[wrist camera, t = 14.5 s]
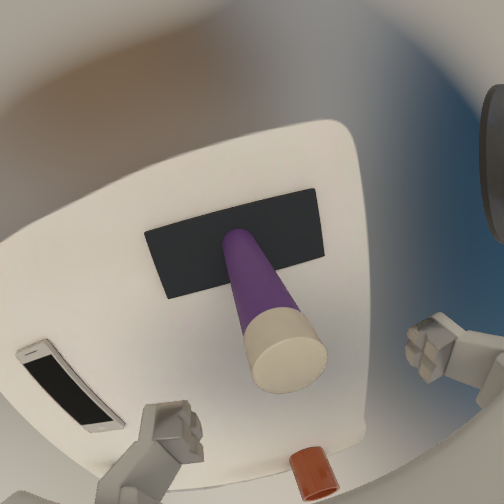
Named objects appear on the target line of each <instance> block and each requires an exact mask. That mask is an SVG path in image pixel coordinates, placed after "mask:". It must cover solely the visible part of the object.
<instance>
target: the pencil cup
mask: <svg viewBox="0 0 504 504" xmlns="http://www.w3.org/2000/svg"><path fill="white" fill-rule="evenodd" d="M289 461H290V464H291V467H292V470H293V473H294V476H295V479H296V482H297V485H298V488H299V491H300V494H301V497H302V499H303V501H314V500H318V499H321V498H324V497H326V496H329V495H331V494H333V493H335V492H336V491H338V489H339V488H340V486H339V484H338V482H337V480H336V477H335V475H334V473H333V471H332V468H331V466H330V464H329V462H328V459H327V457H326V455H325V452H324V451H323V449H322V448H321V447H311V448H307V449H304V450H301V451H299V452H297V453H295V454H294V455H292V456H291V457H290V459H289Z"/></svg>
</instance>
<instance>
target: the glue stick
mask: <svg viewBox="0 0 504 504" xmlns="http://www.w3.org/2000/svg"><path fill="white" fill-rule="evenodd" d="M222 248H223V253H224V257H225V261H226V266H227V270H228V275H229V279H230V283H231V287H232V292H233V296H234V300H235V304H236V308H237V312H238V316H239V321H240V325H241V329H242V333H243V337H244V346H245V350H246V354H247V358H248V362H249V366H250V370H251V373H252V377H253V380H254V382H255V383H256V385H257V386H258V387H259V388H261V389H262V390H264V391H267V392H270V393H277V394H282V393H290V392H294V391H297V390H299V389H302V388H304V387H306V386H307V385H309V384H311V383H312V382H313V381H314V380H316V379H317V378H318V377H319V375H320V374H321V373H322V371H323V370H324V368H325V366H326V363H327V351H326V348H325V347H324V345H323V343H322V342H321V340H320V339H319V337H318V336H317V334H316V332H315V331H314V329H313V328H312V326H311V325H310V323H309V321H308V320H307V318H306V317H305V316H304V315H303V314H302V313H301V311H300V310H299V308H298V306H297V305H296V303H295V302H294V300H293V298H292V297H291V295H290V294H289V292H288V291H287V289H286V287H285V286H284V284H283V283H282V281H281V280H280V278H279V276H278V275H277V273H276V272H275V270H274V269H273V267H272V265H271V264H270V262H269V261H268V259H267V258H266V256H265V254H264V253H263V251H262V250H261V248H260V247H259V245H258V243H257V242H256V240H255V239H254V237H253V236H252V234H251V233H250V232H249V231H247V230H245V229H234V230H231V231H230V232H228V233H227V234H226V235H225V237H224V239H223V242H222Z"/></svg>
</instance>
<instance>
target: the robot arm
mask: <svg viewBox="0 0 504 504" xmlns="http://www.w3.org/2000/svg"><path fill="white" fill-rule="evenodd" d="M407 337H408V338H409V341H408V342H407V344H406V347H405V353H406V357H407V360H408V361H409V363H410V364H411V365H412V366H413V367H416V368H419V375H420V376H421V377H422V378H423V379H424V380H425V381H426V382H427V384H429V383H430V382H432V381H434V380H435V379H437V378H438V377H440V376H442V375H443V374H444V375H445V376H447V377H450V378H452V379H455V380H457V381H460V382H463V383H465V384H468V385H470V386H473V387H476V388H479V389H481V390H480V392H479V394H478V396H477V398H476V402H477V403H478V404H479V406H480V407H481V408H482V410H481V411H480V412H479V413H478V414H477V415H475V416H474V417H473V418H472V419H471V420H469V421H468V422H467V423H466V424H465V425H463V426H462V427H461V428H460V429H458V430H457V431H456V432H454V433H453V434H452V435H450V436H449V437H447V438H446V439H445V440H443V441H442V442H440V443H439V444H437V445H436V446H435V447H433V448H431V449H430V450H428V451H427V452H425V453H423V454H422V455H420V456H419V457H417V458H415V459H414V460H412V461H410V462H408V463H407V464H405V465H403V466H401V467H400V468H398V469H396V470H394V471H392V472H390V473H388V474H386V475H384V476H382V477H380V478H378V479H376V480H374V481H372V482H369V483H367V484H365V485H363V486H360V487H358V488H355V489H353V490H350V491H348V492H345V493H343V494H340V495H337V496H334V497H332V498H329V499H326V500H323V501H319V502H316V503H313V504H504V337H501V336H496V335H490V334H485V333H480V332H474V331H467V332H466V331H465V330H463V329H462V328H461V327H459V326H458V325H457V324H456V323H455V322H453V321H452V320H451V319H449V318H448V317H447V316H446V315H444V314H443V313H441V312H438V313H436V314H434V315H433V316H431V317H430V318H427V319H425V320H423V321H421V322H420V323H418V324H416V325H414V326H412V327H410V329H409V330H408V334H407ZM202 437H203V433H202V427H201V422H200V420H199V418H198V416H197V414H196V413H194V412H192V411H191V405H190V404H189V402H188V401H187V400H182V401H174V402H166V403H158V404H148V405H145V407H144V408H143V413H142V419H141V426H140V432H139V439H138V441H136V442H134V443H133V444H132V445H131V446H130V447H129V448H128V450H127V451H126V452H125V453H124V454H123V455H122V456H121V457H120V459H119V460H118V461H117V462H116V463H115V464H114V465H113V466H112V467H111V469H110V470H109V471H108V472H107V473H106V474H105V475H104V476H103V477H102V478H101V480H100V481H99V482H98V486H97V492H96V499H95V504H162V503H161V502H160V501H161V500H162V498H163V496H164V495H165V493H166V491H167V490H168V488H169V486H170V485H171V483H172V481H173V480H174V478H175V476H176V474H177V473H178V471H179V469H180V468H181V466H182V465H181V464H190V463H198V462H204V452H203V446H202V444H201V443H200V442H199V441H200V440H201V438H202ZM1 504H59V503H56V502H53V501H50V500H47V499H44V498H41V497H39V496H36V495H33V494H31V493H29V492H26V491H17V492H15V493H14V494H12V495H11V496H10V497H8V498H7V499H6V500H5V501H3V502H2V503H1Z"/></svg>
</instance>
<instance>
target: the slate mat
mask: <svg viewBox="0 0 504 504" xmlns="http://www.w3.org/2000/svg"><path fill="white" fill-rule="evenodd" d="M234 229H245V230H247V231H249V232H250V233H251V234H252V236H253V237H254V239H255V240H256V242H257V243H258V245H259V247H260V248H261V250H262V251H263V253H264V254H265V256H266V258H267V259H268V261H269V262H270V264H271V265H272V267H273V269H274V270H278V269H282V268H285V267H289V266H292V265H296V264H299V263H303V262H306V261H310V260H313V259H316V258H320V257H323V256H325V254H324V246H323V238H322V231H321V224H320V217H319V210H318V204H317V198H316V192H315V189H314V188H311V189H307V190H302V191H298V192H293V193H289V194H285V195H280V196H276V197H272V198H268V199H263V200H259V201H255V202H251V203H247V204H243V205H239V206H235V207H231V208H228V209H224V210H220V211H216V212H213V213H209V214H205V215H201V216H198V217H194V218H191V219H187V220H184V221H180V222H177V223H173V224H170V225H166V226H163V227H160V228H156V229H153V230H150V231H146V232H145V233H144V235H145V238H146V241H147V244H148V247H149V250H150V252H151V255H152V258H153V261H154V264H155V266H156V269H157V272H158V275H159V277H160V280H161V282H162V285H163V288H164V290H165V293H166V295H167V298H168V299H171V298H175V297H178V296H182V295H186V294H190V293H194V292H198V291H202V290H205V289H209V288H213V287H217V286H220V285H224V284H228V283H230V279H229V275H228V270H227V266H226V261H225V257H224V253H223V248H222V242H223V239H224V237H225V235H226V234H227V233H228V232H230V231H231V230H234Z"/></svg>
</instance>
